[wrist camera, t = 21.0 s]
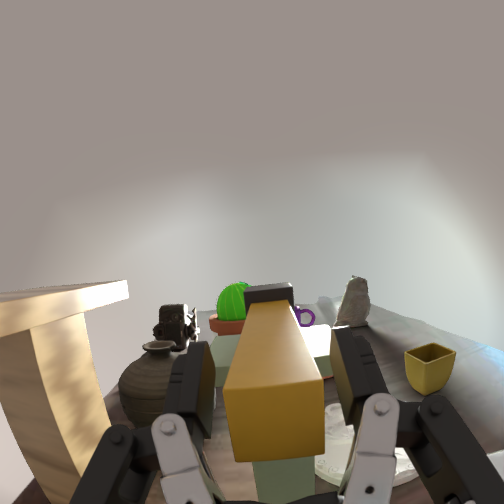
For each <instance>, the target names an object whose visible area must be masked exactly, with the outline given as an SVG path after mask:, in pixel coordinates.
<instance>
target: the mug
mask: <svg viewBox="0 0 504 504" xmlns="http://www.w3.org/2000/svg"><path fill="white" fill-rule="evenodd" d="M294 307H295V318H296V320H297V322H298V324H299V327H300V326H301V327H310V326H311V325H313V323H314V321H315V315H314V313H313V312H312V311H311V310H309V309H303V310H300V308H299V307H298V306H294ZM304 312H308V313H309V314H310V315H311V316H312V320H311V322H310V323H309V324H302V323H301V317H300V314H301V313H304Z"/></svg>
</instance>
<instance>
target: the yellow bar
mask: <svg viewBox="0 0 504 504" xmlns="http://www.w3.org/2000/svg"><path fill="white" fill-rule="evenodd" d="M243 296H244V304H245V313H246V320H245V323H244V326H243V329H242V333H241V336H240V339H239V342H238V345H237V348H236V351H235V354H234V357H233V360H232V363H231V366H230V369H229V372H228V375H227V378H226V381H225V384H224V387H223V390H222V392H223V398H224V403H225V409H226V415H227V421H228V426H229V432H230V437H231V442H232V447H233V452H234V458H235V461H236V462H259V461H273V460H284V459H294V458H302V457H309V456H316V455H323V454H325V410H324V381H323V378H322V376H321V374H320V372H319V369H318V367H317V365H316V363H315V360H314V358H313V356H312V353H311V351H310V349H309V347H308V344H307V342H306V340H305V338H304V336H303V333H302V331H301V329H300V327H299V324H298V322H297V320H296V318H295V307H294V297H293V287H292V286H291V284H290V283H289V282H285V283H277V284H268V285H258V286H249V287H246V289H245V290H244V292H243Z"/></svg>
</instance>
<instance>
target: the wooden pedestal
mask: <svg viewBox="0 0 504 504" xmlns="http://www.w3.org/2000/svg"><path fill="white" fill-rule="evenodd" d="M127 298H129V297H128V290H127V282H126V280H119V281H108V282H97V283H86V284H74V285H62V286H50V287H39V288H32V289H26V290H18V291H11V292H4V293H0V402H1V404H2V408H3V410H4V413H5V416H6V418H7V421H8V423H9V425H10V428H11V430H12V432H13V435H14V437H15V439H16V441H17V444H18V446H19V448H20V450H21V452H22V454H23V456H24V458H25V460H26V462H27V464H28V465H29V467H30V469H31V471H32V473H33V475H34V477H35V478H36V480H37V482H38V483H39V485H40V487H41V488H42V490H43V492H44V493H45V495H46V497H47V498H48V500H49V501H50V503H51V504H69V502H70V500H71V498H72V496H73V494H74V492H75V490H76V487H77V485H78V483H79V481H80V479H81V477H82V475H83V473H84V471H85V469H86V467H87V465H88V463H89V461H90V459H91V457H92V455H93V453H94V451H95V449H96V447H97V445H98V443H99V441H100V439H101V437H102V436H103V434H104V432H105V431H106V429H108V428H109V427H111V423H110V420H109V417H108V414H107V411H106V408H105V404H104V401H103V398H102V395H101V391H100V387H99V384H98V380H97V376H96V372H95V368H94V364H93V360H92V355H91V350H90V346H89V341H88V336H87V331H86V325H85V320H84V314H83V312H86V311H89V310H92V309H96V308H99V307H102V306H105V305H108V304H112V303H115V302H118V301H121V300H124V299H127Z"/></svg>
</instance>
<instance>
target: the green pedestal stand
mask: <svg viewBox="0 0 504 504" xmlns="http://www.w3.org/2000/svg"><path fill="white" fill-rule="evenodd" d="M300 329H301V331H302V333H303V336H304V338H305V340H306V342H307V344H308V347H309V349H310V351H311V353H312V356H313V358H314V360H315V363H316V365H317V367H318V369H319V372H320V374H321V376H322V377H325V376H331V375H333V371H332V367H331V363H330V354H329V352H330V339H331V329H330V327H329V326H328V325H327V324H326V325H319V326H312V327H304V328H300ZM240 336H241V334H238V335H226V336H216V337H215V339H214V341H213V342H212V344H211V345H210V347H209V348H210V351H211V354H212V357H213V360H214V363H215V369H216V379H215V387H224V384H225V381H226V378H227V375H228V372H229V369H230V366H231V363H232V360H233V357H234V354H235V351H236V348H237V345H238V342H239V339H240ZM252 464H253V470H254V476H255V482H256V488H257V494H258V499H259V502H262V503H268V504H286V503H289V502H292V501H295V500H298V499H301V498H304V497H307V496H310V495H315V456H309V457H302V458H294V459H284V460H273V461H259V462H252Z"/></svg>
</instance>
